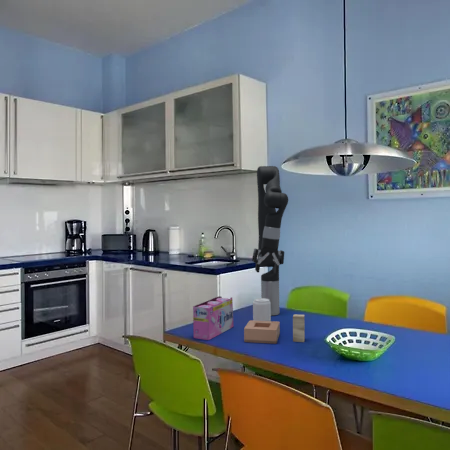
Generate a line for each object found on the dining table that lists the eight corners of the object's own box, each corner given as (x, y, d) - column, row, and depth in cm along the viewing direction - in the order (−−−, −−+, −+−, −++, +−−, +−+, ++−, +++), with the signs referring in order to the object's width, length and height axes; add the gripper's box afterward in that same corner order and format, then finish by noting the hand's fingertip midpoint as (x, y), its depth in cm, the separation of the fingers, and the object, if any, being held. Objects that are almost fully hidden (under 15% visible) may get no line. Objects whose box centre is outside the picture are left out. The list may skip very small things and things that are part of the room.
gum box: (220, 324, 200) (219, 295, 200) (235, 326, 197) (234, 297, 196) (192, 338, 179) (192, 306, 179) (209, 340, 176) (208, 307, 175)
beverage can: (264, 328, 191) (264, 302, 190) (249, 326, 196) (249, 300, 195) (274, 324, 197) (273, 299, 197) (259, 322, 202) (259, 297, 202)
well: (249, 332, 185) (249, 320, 185) (279, 334, 182) (279, 321, 182) (244, 341, 173) (244, 328, 172) (276, 343, 170) (276, 330, 169)
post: (293, 338, 177) (293, 314, 176) (304, 338, 176) (304, 314, 175) (293, 341, 172) (292, 317, 172) (304, 342, 171) (303, 317, 171)
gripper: (282, 236, 195) (277, 271, 197) (253, 234, 191) (248, 269, 192) (289, 239, 188) (284, 275, 189) (259, 237, 184) (254, 273, 185)
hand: (266, 272), depth 191 cm, fingers open, 8 cm apart
